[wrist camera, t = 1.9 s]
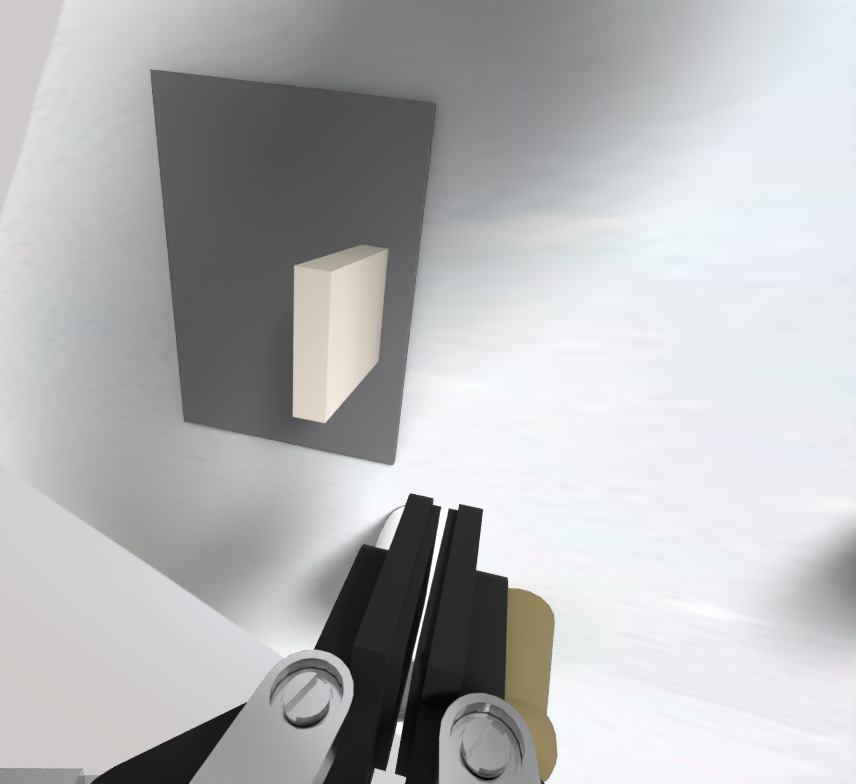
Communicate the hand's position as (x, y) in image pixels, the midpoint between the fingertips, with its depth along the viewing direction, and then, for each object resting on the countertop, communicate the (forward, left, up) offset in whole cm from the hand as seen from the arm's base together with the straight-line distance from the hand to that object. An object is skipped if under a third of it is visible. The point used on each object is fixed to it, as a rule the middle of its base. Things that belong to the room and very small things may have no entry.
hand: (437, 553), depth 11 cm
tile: (0, -7, -19) cm, 20 cm away
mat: (0, -13, -20) cm, 24 cm away
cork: (+23, +6, -20) cm, 31 cm away
